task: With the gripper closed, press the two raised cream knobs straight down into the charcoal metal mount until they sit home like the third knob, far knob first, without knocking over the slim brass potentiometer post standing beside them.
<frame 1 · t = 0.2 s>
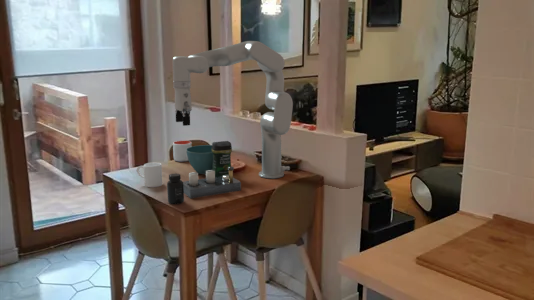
hand: (182, 123, 233), 30 cm above the table, fingers open, 9 cm apart
knob mid: (210, 176, 236), point 7 cm above the table, slide at 0.0 cm
coffee jar: (222, 179, 255), on the table
supplement bottle: (176, 202, 222), on the table
mount: (210, 190, 237), on the table
mug: (149, 185, 246), on the table
teal bowl: (205, 172, 267), on the table
cup: (182, 160, 291), on the table
pot post: (230, 182, 236), point 4 cm above the table, touching mount
knob far: (193, 178, 232), point 7 cm above the table, slide at 0.0 cm
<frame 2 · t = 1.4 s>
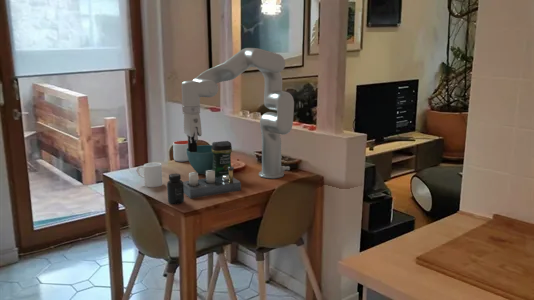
hand: (192, 151, 229), 19 cm above the table, fingers closed
nothing on the table moved.
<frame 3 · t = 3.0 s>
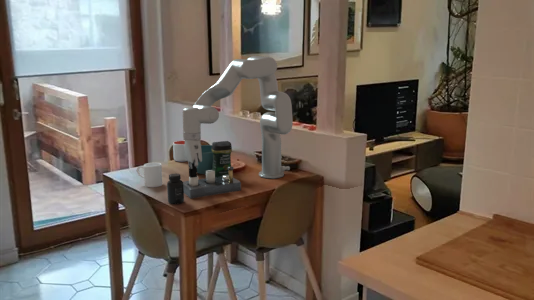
hand: (193, 176, 232), 8 cm above the table, fingers closed
knob far: (193, 182, 232), point 5 cm above the table, slide at 1.5 cm, touching gripper
everything else where it was.
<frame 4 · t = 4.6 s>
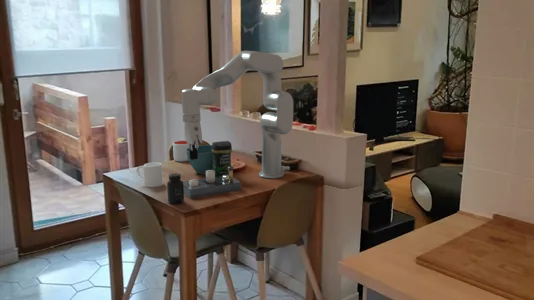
hand: (193, 158, 230), 16 cm above the table, fingers closed
knob far: (193, 186, 233), point 3 cm above the table, slide at 3.4 cm
everything else where it was.
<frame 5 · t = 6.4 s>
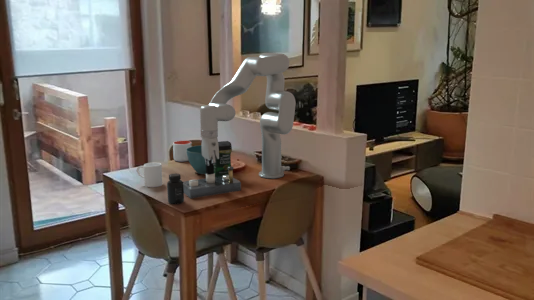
hand: (209, 173, 235), 8 cm above the table, fingers closed
knob mid: (210, 179, 236), point 5 cm above the table, slide at 1.2 cm, touching gripper
everything else where it was.
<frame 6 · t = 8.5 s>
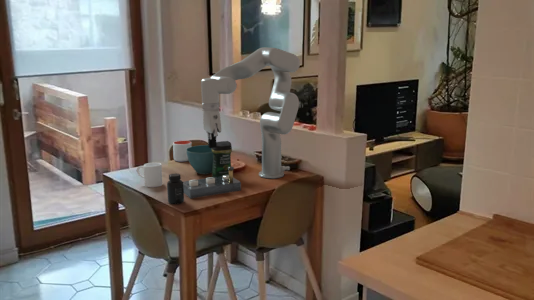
hand: (212, 147, 234), 20 cm above the table, fingers closed
knob mid: (210, 183, 236), point 3 cm above the table, slide at 3.4 cm
everything else where it was.
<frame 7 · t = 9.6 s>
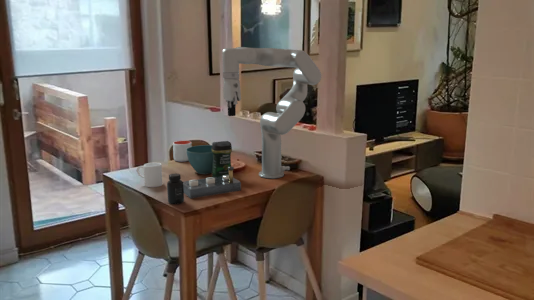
hand: (231, 115, 242), 32 cm above the table, fingers closed
nothing on the table moved.
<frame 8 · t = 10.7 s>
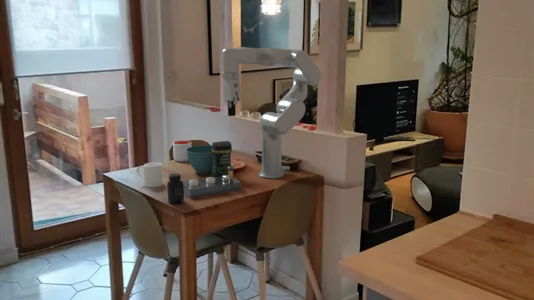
hand: (231, 115, 242), 32 cm above the table, fingers closed
nothing on the table moved.
at the end: knob far slide at 3.4 cm; knob mid slide at 3.4 cm; pot post tilted 1° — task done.
